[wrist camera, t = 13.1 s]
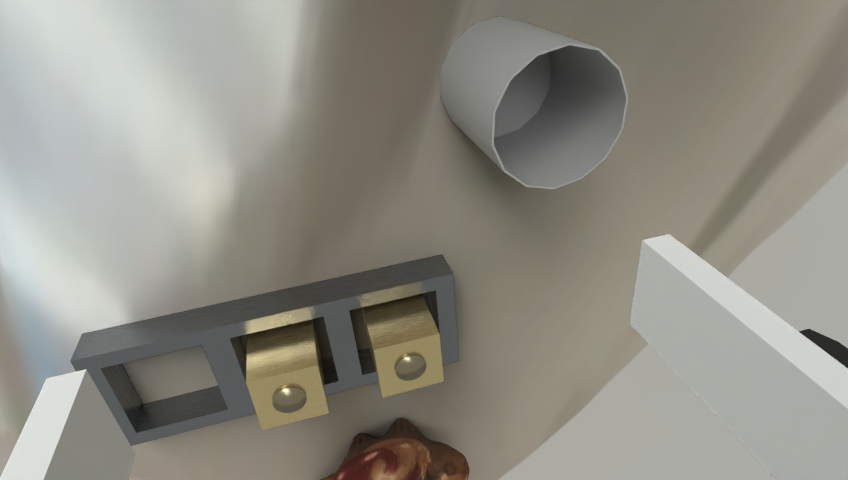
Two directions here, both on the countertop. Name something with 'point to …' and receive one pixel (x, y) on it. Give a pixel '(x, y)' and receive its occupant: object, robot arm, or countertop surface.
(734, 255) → the countertop surface
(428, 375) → the beige framed knobbed block
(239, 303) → the rack
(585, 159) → the cup
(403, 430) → the decorative turtle
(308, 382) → the cube with silver knob
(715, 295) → the robot arm
